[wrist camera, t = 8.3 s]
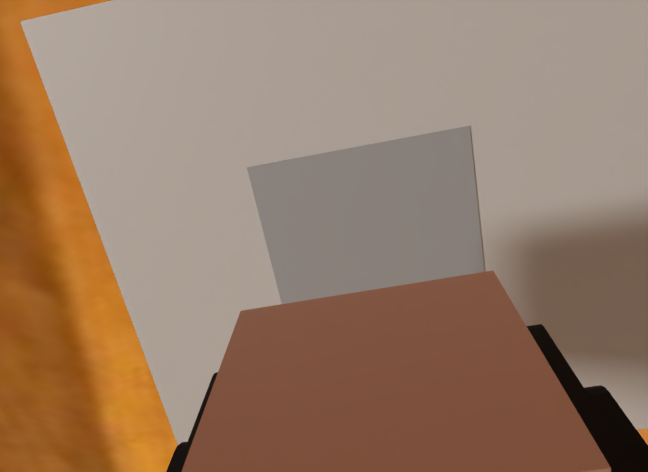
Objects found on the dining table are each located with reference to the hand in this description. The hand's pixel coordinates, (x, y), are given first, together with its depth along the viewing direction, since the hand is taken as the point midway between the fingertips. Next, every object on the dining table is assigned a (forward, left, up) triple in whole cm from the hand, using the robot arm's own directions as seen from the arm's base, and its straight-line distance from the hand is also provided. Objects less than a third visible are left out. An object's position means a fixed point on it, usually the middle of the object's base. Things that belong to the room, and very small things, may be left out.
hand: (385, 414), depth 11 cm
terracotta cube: (0, 0, -1) cm, 1 cm away
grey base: (0, 0, -11) cm, 11 cm away
